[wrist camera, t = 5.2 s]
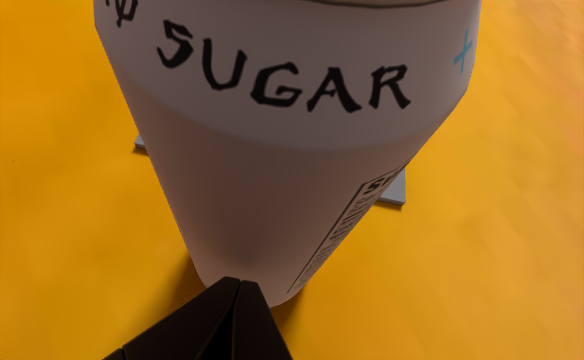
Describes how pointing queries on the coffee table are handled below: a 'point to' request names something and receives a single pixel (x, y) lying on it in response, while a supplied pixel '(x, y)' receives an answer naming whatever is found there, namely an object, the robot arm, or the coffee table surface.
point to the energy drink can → (283, 116)
